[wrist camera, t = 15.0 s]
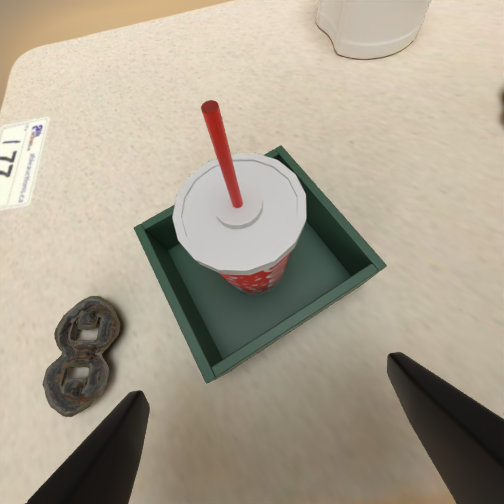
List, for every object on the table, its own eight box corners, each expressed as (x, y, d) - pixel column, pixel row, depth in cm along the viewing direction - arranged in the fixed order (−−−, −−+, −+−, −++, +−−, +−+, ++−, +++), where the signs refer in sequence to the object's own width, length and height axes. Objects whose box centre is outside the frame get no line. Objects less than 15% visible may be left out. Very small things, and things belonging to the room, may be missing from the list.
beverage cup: (240, 321, 18) (146, 257, 5) (204, 254, 20) (73, 92, 7) (311, 278, 19) (383, 125, 6) (268, 218, 21) (251, 8, 8)
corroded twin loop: (45, 412, 18) (31, 416, 17) (73, 299, 21) (62, 296, 20) (112, 413, 17) (102, 417, 16) (131, 297, 20) (123, 295, 19)
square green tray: (223, 375, 18) (206, 384, 13) (161, 250, 22) (133, 227, 17) (363, 283, 19) (387, 265, 15) (280, 181, 23) (281, 144, 19)
